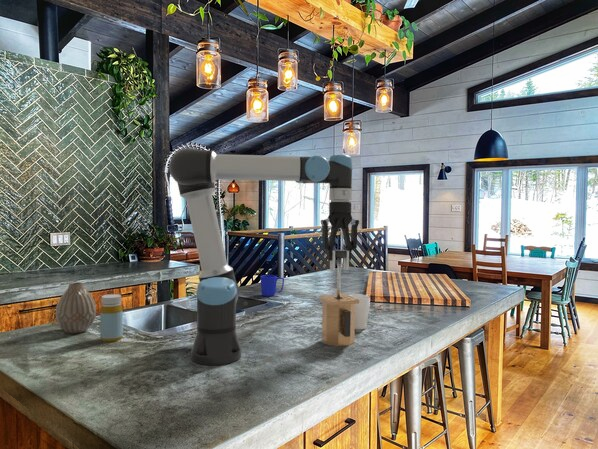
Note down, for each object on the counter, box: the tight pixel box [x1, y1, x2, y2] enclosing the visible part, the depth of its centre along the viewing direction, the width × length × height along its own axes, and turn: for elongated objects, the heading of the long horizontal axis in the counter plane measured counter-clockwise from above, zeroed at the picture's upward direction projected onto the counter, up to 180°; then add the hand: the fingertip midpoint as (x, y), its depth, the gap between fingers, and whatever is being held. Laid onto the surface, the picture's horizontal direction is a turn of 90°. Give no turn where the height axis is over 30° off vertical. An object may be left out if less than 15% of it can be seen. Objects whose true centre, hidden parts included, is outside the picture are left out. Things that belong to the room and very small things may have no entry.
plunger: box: [333, 249, 346, 299], centre depth 152 cm, size 8×8×20 cm
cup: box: [348, 293, 371, 331], centre depth 170 cm, size 9×9×12 cm
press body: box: [318, 293, 359, 347], centre depth 151 cm, size 10×13×15 cm
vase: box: [55, 281, 97, 334], centre depth 161 cm, size 13×13×18 cm
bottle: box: [99, 293, 124, 343], centre depth 151 cm, size 7×7×15 cm
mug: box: [259, 274, 285, 297], centre depth 227 cm, size 8×12×10 cm
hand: (339, 269), depth 152 cm, fingers closed on plunger, 4 cm apart
